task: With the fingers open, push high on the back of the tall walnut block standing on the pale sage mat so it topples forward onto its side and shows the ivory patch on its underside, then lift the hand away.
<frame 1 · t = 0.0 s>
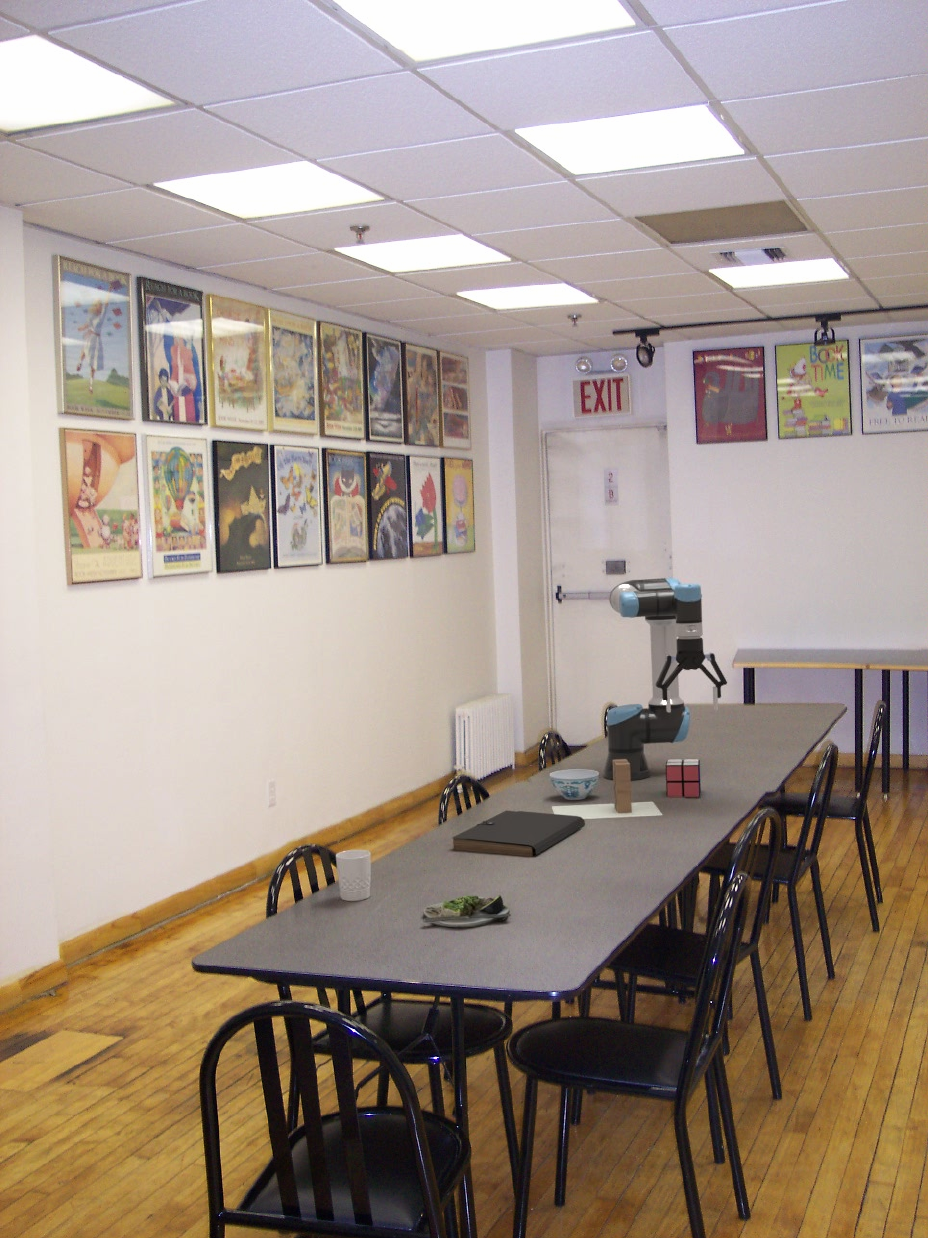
hand: (692, 710, 354), 28 cm above the table, tool pointing down, fingers open, 13 cm apart
white cup: (355, 898, 280), on the table
file folder: (520, 841, 328), on the table
salad plate: (469, 918, 262), on the table
walnut block: (623, 809, 354), on the table, touching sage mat
puzzle cube: (683, 795, 373), on the table
chinaware: (575, 799, 374), on the table
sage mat: (605, 812, 354), on the table
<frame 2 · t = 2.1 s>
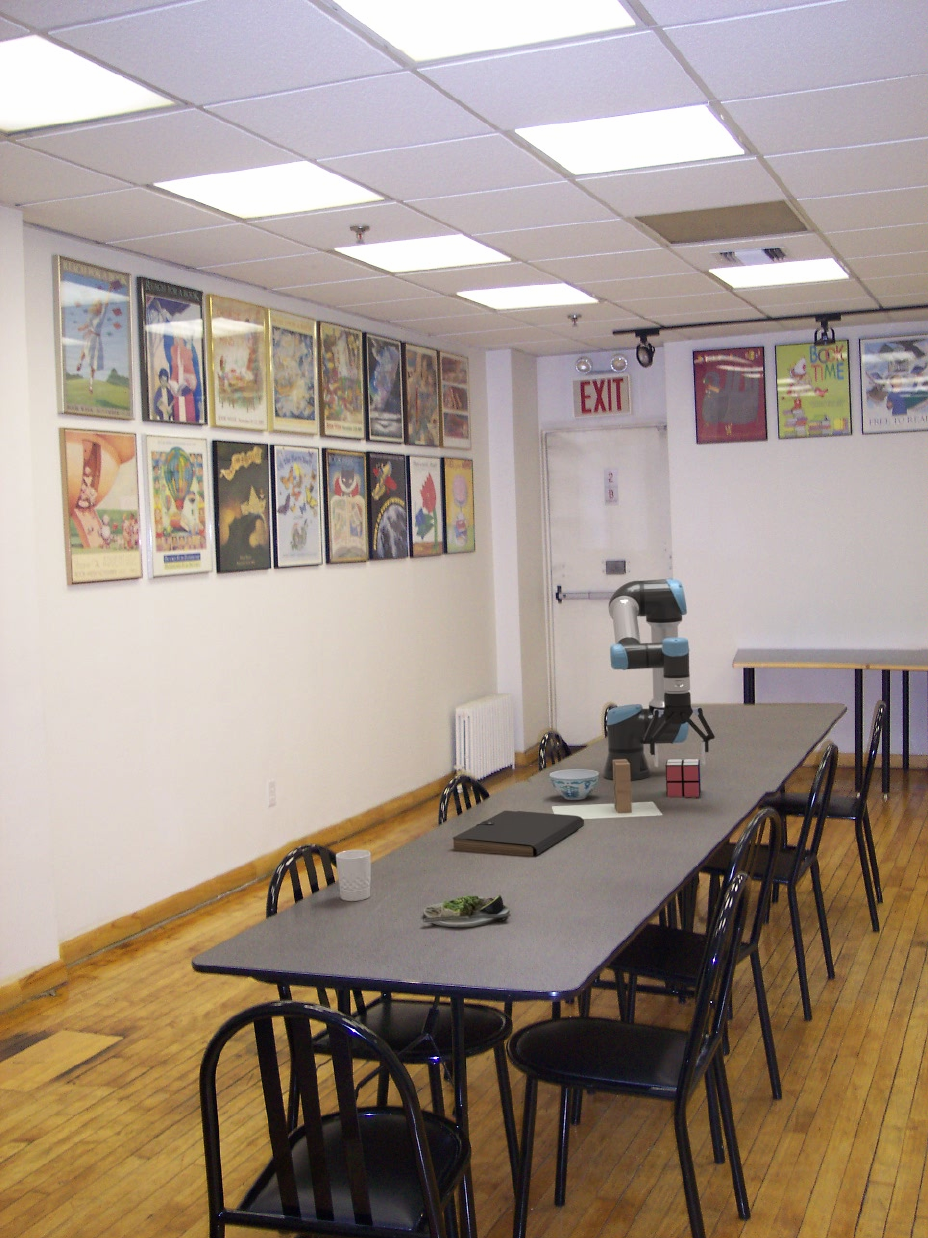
hand: (679, 765, 353), 13 cm above the table, tool pointing down, fingers open, 13 cm apart
nothing on the table moved.
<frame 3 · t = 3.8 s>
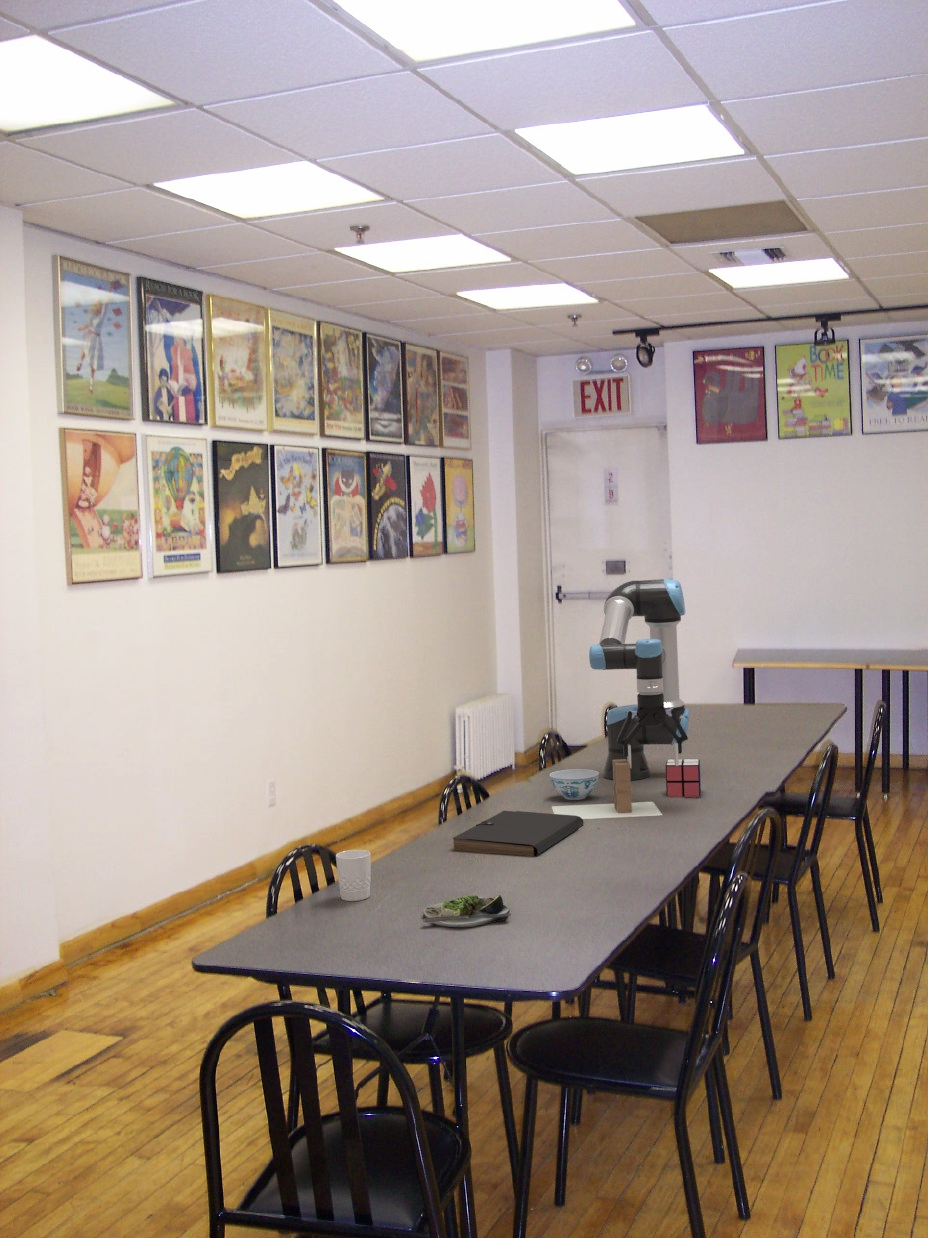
hand: (653, 766, 353), 13 cm above the table, tool pointing down, fingers open, 13 cm apart
walnut block: (623, 809, 354), on the table, touching gripper, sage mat
everything else where it was.
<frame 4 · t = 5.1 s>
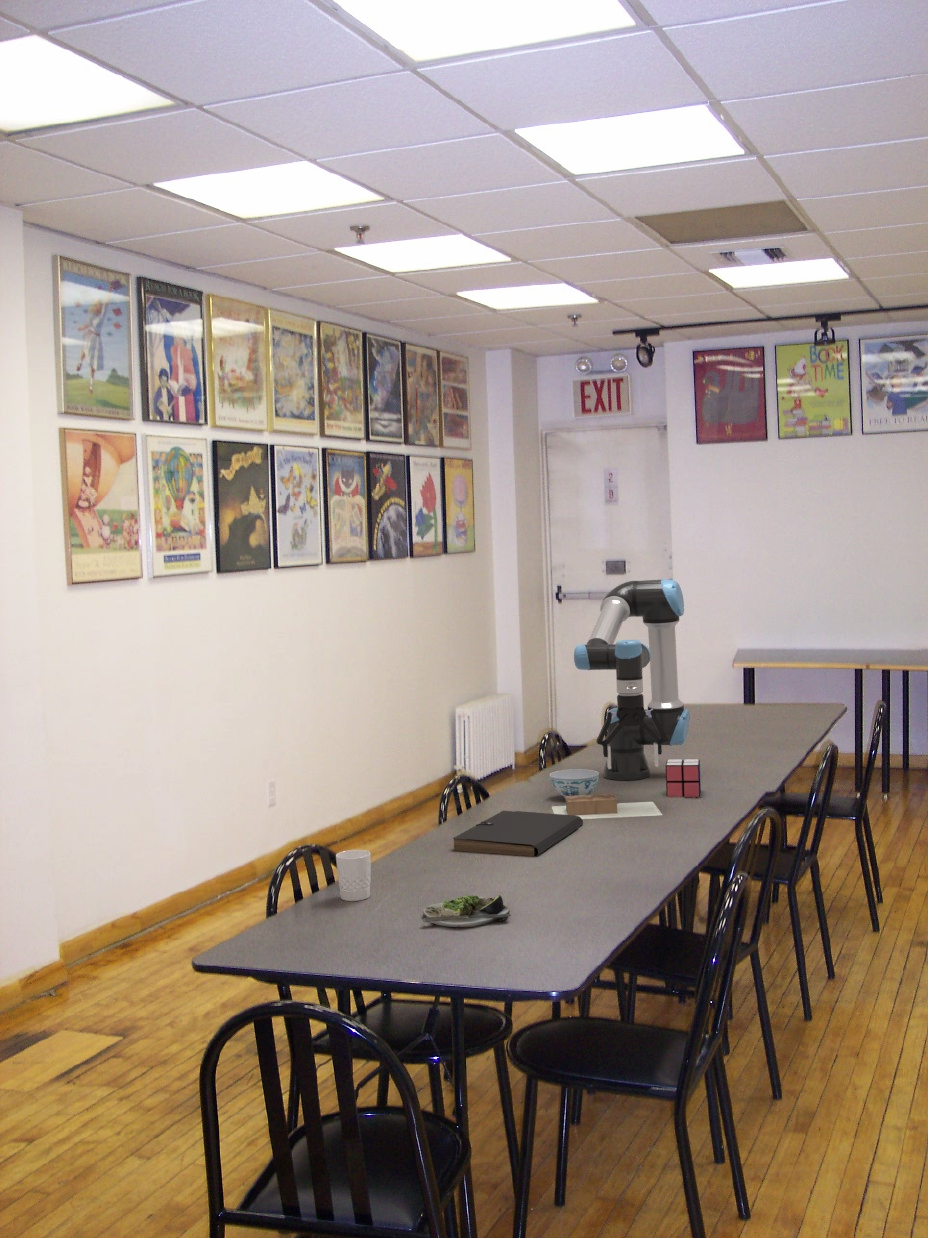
hand: (632, 767, 353), 13 cm above the table, tool pointing down, fingers open, 13 cm apart
walnut block: (615, 803, 354), point 2 cm above the table, tilted 90°, touching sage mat
everything else where it was.
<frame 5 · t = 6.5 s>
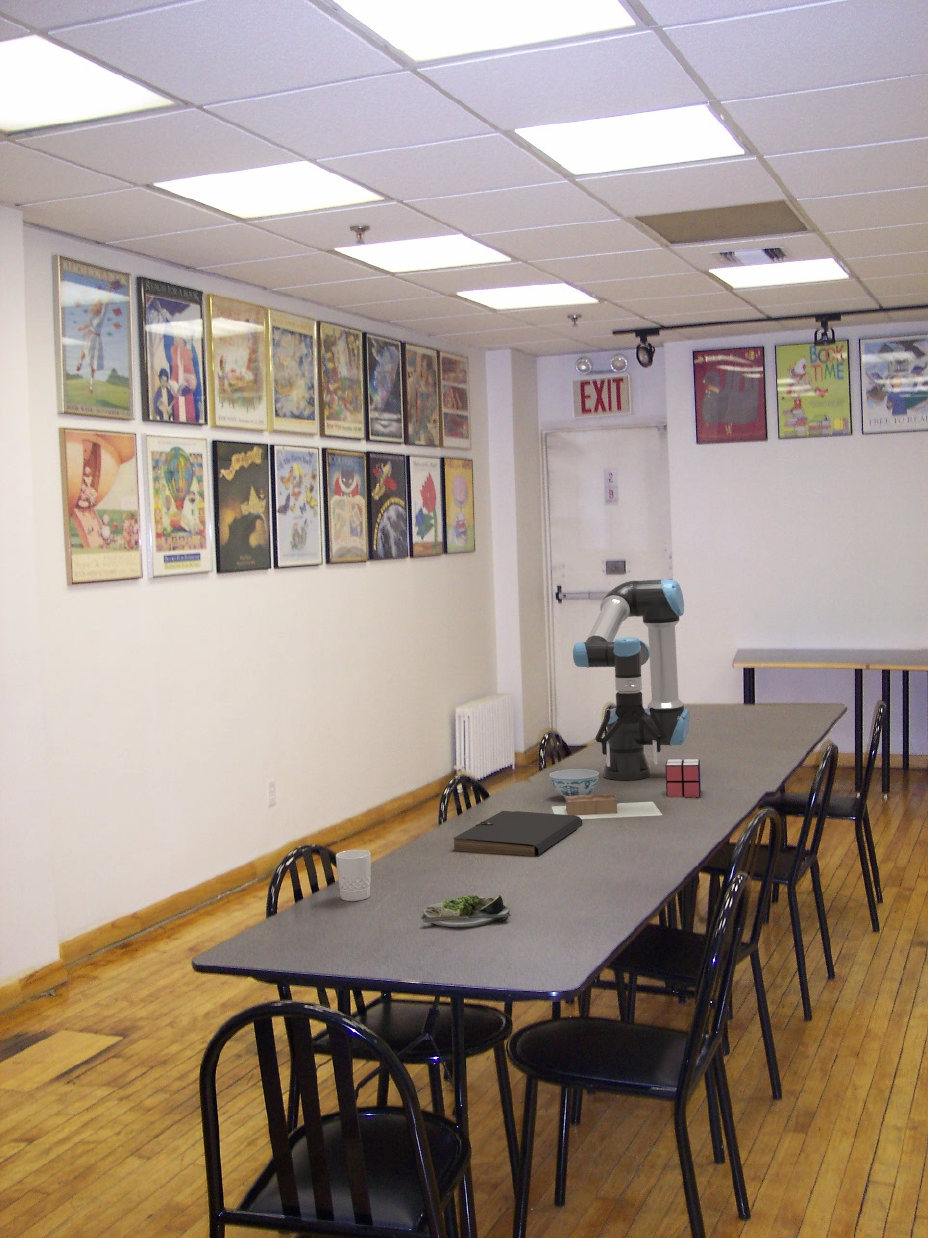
hand: (631, 764, 353), 13 cm above the table, tool pointing down, fingers open, 13 cm apart
nothing on the table moved.
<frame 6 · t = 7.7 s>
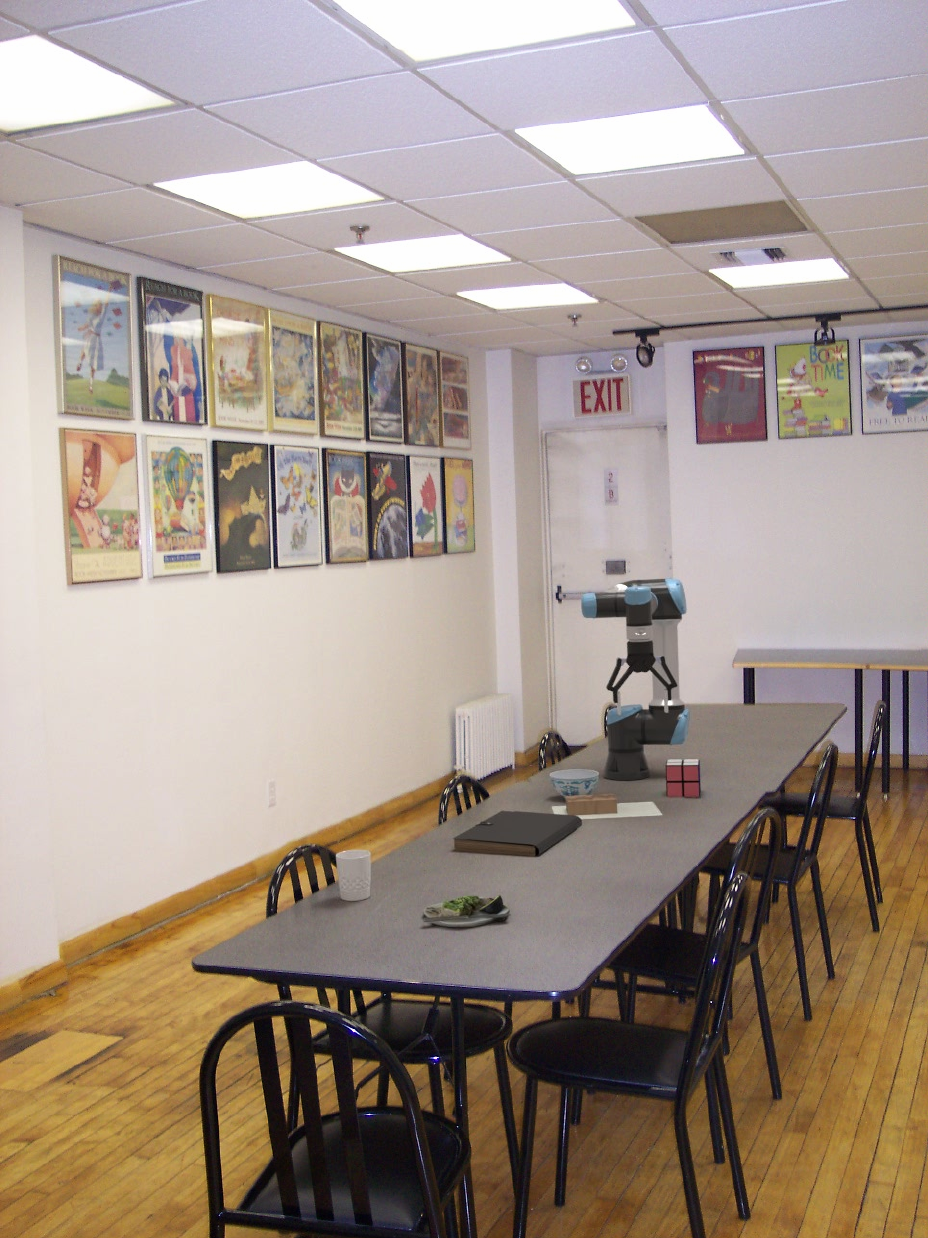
hand: (642, 713, 355), 28 cm above the table, tool pointing down, fingers open, 13 cm apart
nothing on the table moved.
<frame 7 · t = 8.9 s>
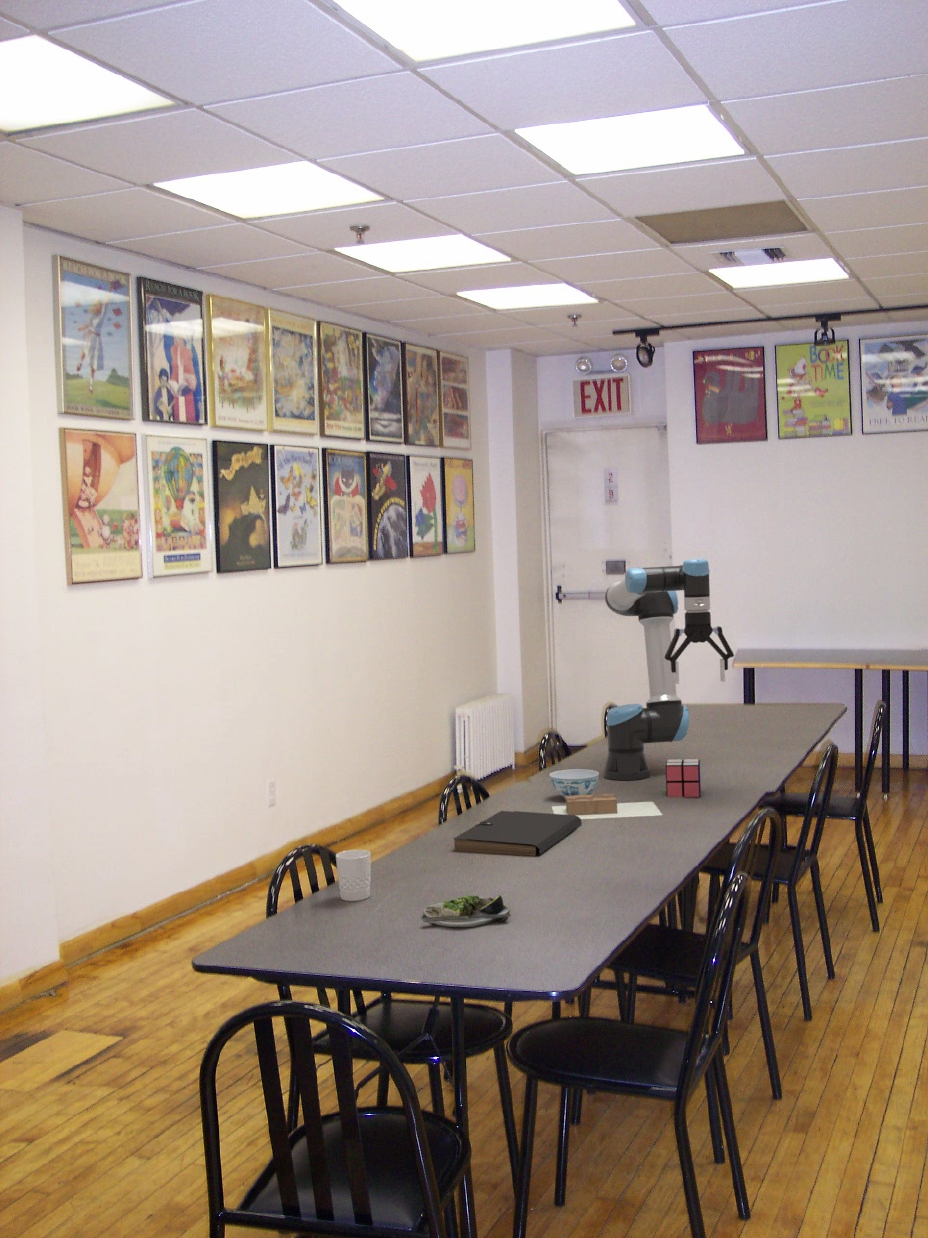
hand: (699, 682, 365), 35 cm above the table, tool pointing down, fingers open, 13 cm apart
nothing on the table moved.
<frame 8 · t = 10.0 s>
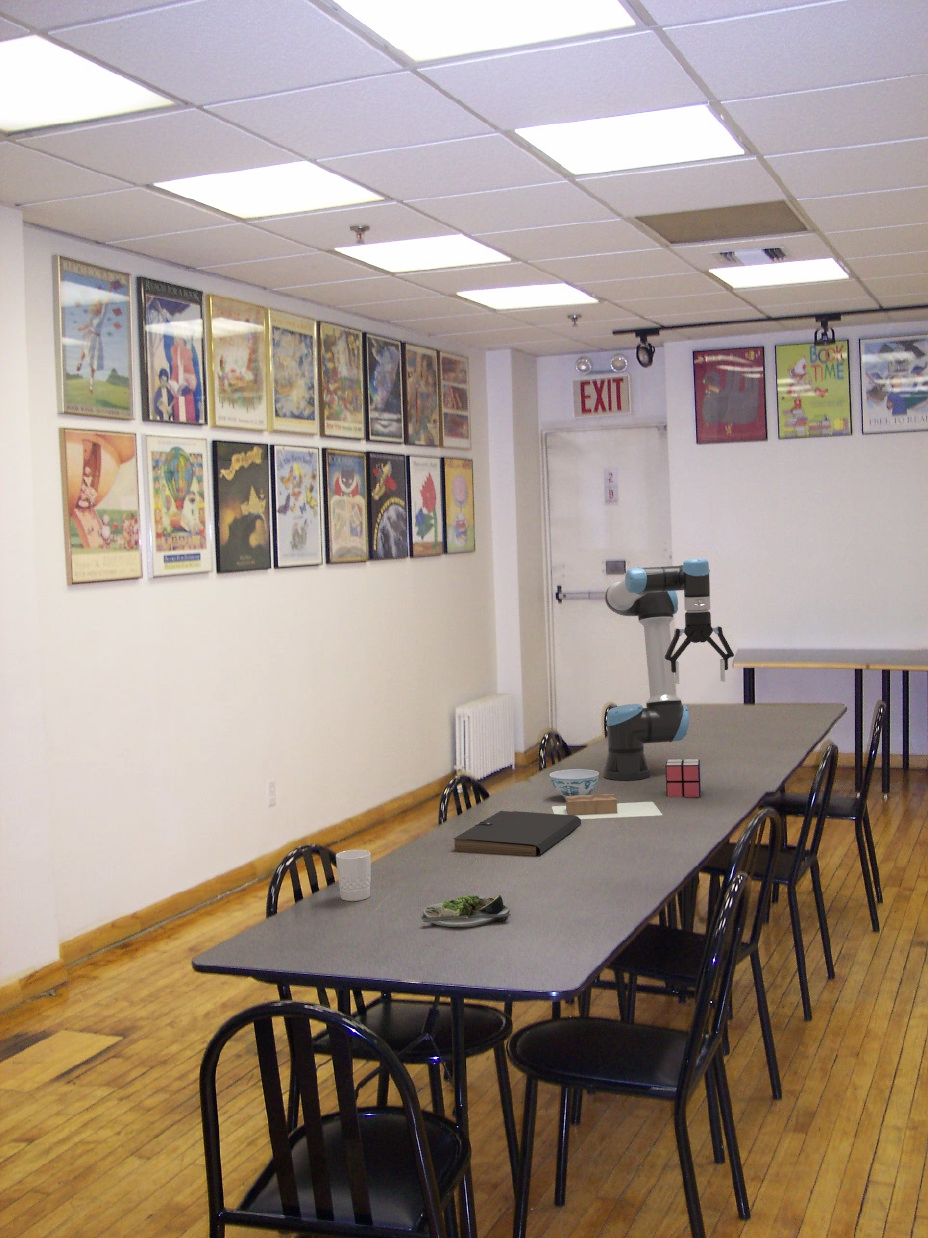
hand: (700, 682, 365), 35 cm above the table, tool pointing down, fingers open, 13 cm apart
nothing on the table moved.
at the end: walnut block tilted 90°; walnut block touching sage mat; walnut block inside the target area (0.1 cm from its centre), point 2.4 cm above the table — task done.
